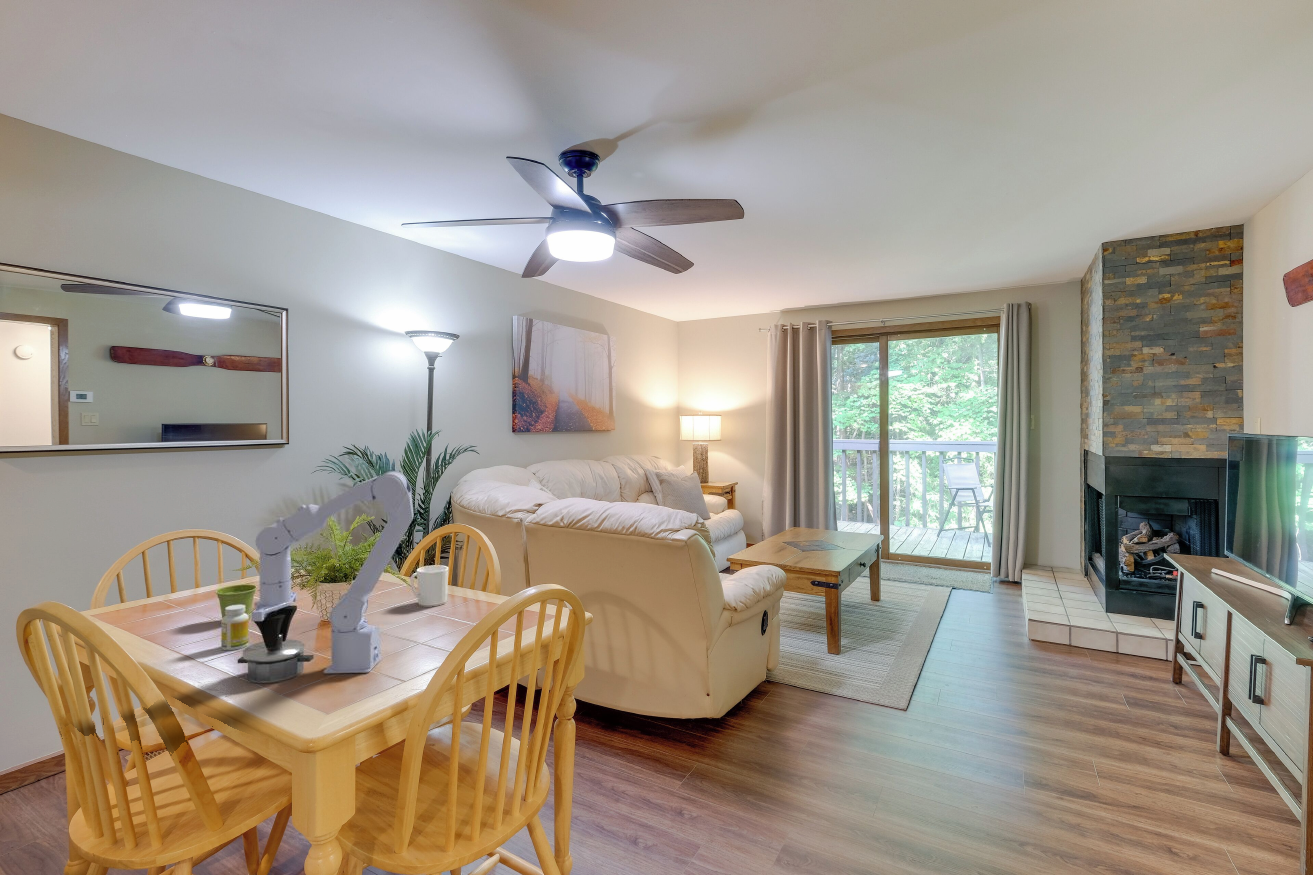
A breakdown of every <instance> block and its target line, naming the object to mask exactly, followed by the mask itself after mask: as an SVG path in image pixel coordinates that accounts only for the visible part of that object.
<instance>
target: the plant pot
mask: <svg viewBox="0 0 1313 875" xmlns="http://www.w3.org/2000/svg"><path fill="white" fill-rule="evenodd" d="M257 589H258V586H257V585H255V584H247V583H245V584H235V585H227V586H223V587H220V588H218V589H216V590H215V592H214V593H215V594H216V595H217V598H218V600H219V608H220V612H221V619H222V618H223V617H225V616H226V614H225V608H226V607H229V606H232V605H245V609H246V610H245V612H244V613H245V614H247V615H248V614H249V613H250V612H252V607H253V604H254V602H253V601H254V596H255V594H256V590H257ZM248 617H249V620H250V619H251V615H249V616H248Z"/></svg>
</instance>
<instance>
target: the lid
mask: <svg viewBox="0 0 1313 875" xmlns="http://www.w3.org/2000/svg"><path fill="white" fill-rule="evenodd" d="M282 639H283V633H280V635H279V643H278V646H277V647H275V648H266V646H265V643H264V640H263V641H259V642H257V643H254V644H253V643H252V644H251V645H249V646H248V645H247V646H246V647H244V649H243V650H242V656H243V658H244V659H245V660H247V661H251V662H260V663H275V662H280V661H284V660H287V659H290V658H293V657H296V656H298V655H300V654H301V653H302V652H303V653H304V651H305V643H304V642H302V641H300V640H297V639H290V638H289V639H288V638H286V641H284V642H282Z"/></svg>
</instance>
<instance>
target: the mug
mask: <svg viewBox="0 0 1313 875" xmlns="http://www.w3.org/2000/svg"><path fill="white" fill-rule="evenodd" d="M415 578H416V581H417V582H416V583H417V591H416V588H415V587H416V586H415V583H414V581H415ZM448 578H449V566H446V565H441V564H440V565H439V564H438V565H437V564H435V565H425V566H422V567H419V568H417V569H416V572H415V573H413V574H412V575H411V577H410V586H411V589H412V592H413V594H414V596H415V597H416V598H417V600H418V606H420V607H423V608H433V607H432V606H435V607H439V606H438V605H440V606H443V605H445V604H446V603H447V602H448V585H449V583H448V582H449V579H448ZM444 603H445V604H444ZM442 604H443V605H442Z"/></svg>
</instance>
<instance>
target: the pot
mask: <svg viewBox="0 0 1313 875" xmlns="http://www.w3.org/2000/svg"><path fill="white" fill-rule="evenodd" d="M312 660H314V654H304V651H303V652H302V653H301V654H300V655H298V656H296V657H293V658H290V659H287V660H284V661H280V662H275V663H260V662H251V661H247V660H245V659H244V658H243V655H242V656H241V657H239V658H238V659H237V664H247V680H248V682H249V683H253V684H262V685H265V684H274V683H280V682H284V681H288V680H290V679H293V678H295V677H297V676H298V675H301V673H302V672H303V670H304V663H309V662H311V661H312Z"/></svg>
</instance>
